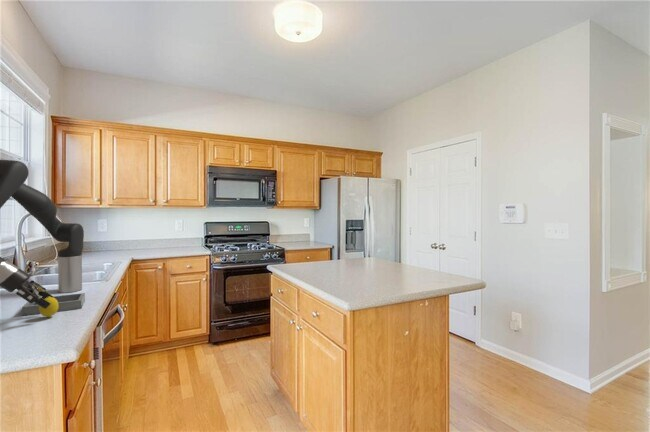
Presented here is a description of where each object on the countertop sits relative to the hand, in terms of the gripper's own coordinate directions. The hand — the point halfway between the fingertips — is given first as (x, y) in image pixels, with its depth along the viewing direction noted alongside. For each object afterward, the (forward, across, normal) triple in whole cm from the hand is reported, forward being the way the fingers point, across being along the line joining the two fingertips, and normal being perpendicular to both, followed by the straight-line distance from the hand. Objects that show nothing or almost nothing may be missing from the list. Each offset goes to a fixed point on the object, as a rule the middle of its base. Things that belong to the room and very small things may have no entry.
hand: (50, 303), depth 121 cm
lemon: (+4, 0, +4) cm, 5 cm away
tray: (+3, +14, +4) cm, 15 cm away
